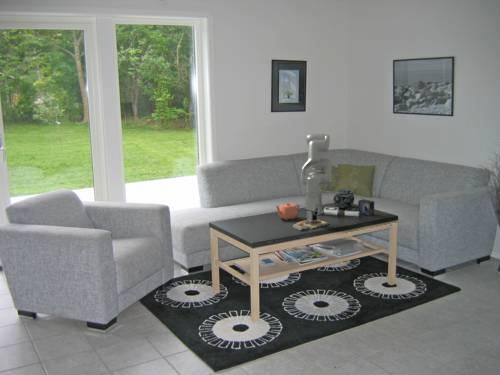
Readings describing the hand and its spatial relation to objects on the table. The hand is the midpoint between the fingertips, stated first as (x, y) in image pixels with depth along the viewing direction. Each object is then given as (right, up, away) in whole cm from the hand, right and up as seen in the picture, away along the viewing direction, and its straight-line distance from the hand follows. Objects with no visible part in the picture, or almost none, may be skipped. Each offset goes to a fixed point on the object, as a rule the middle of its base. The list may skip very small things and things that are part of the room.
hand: (312, 219), depth 373 cm
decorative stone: (+30, +6, +42) cm, 51 cm away
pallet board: (0, -4, +1) cm, 4 cm away
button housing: (-9, -6, -9) cm, 14 cm away
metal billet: (0, -1, 0) cm, 1 cm away
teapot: (-16, -1, +17) cm, 24 cm away
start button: (-9, -5, -9) cm, 14 cm away
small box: (+43, +2, +22) cm, 48 cm away
